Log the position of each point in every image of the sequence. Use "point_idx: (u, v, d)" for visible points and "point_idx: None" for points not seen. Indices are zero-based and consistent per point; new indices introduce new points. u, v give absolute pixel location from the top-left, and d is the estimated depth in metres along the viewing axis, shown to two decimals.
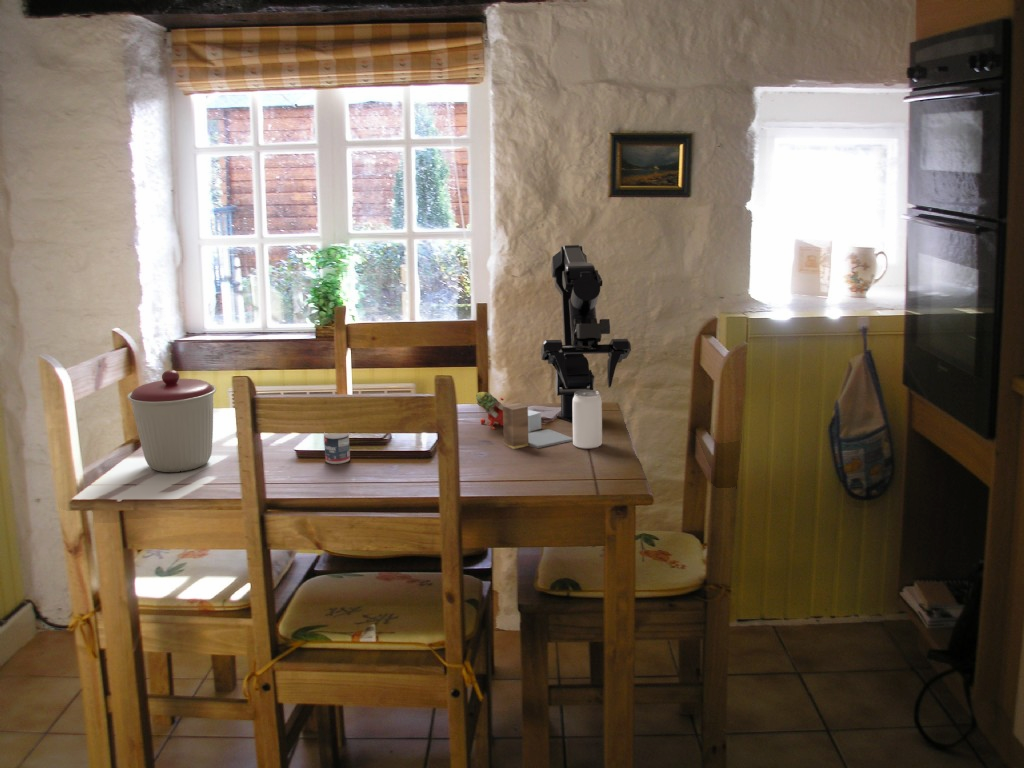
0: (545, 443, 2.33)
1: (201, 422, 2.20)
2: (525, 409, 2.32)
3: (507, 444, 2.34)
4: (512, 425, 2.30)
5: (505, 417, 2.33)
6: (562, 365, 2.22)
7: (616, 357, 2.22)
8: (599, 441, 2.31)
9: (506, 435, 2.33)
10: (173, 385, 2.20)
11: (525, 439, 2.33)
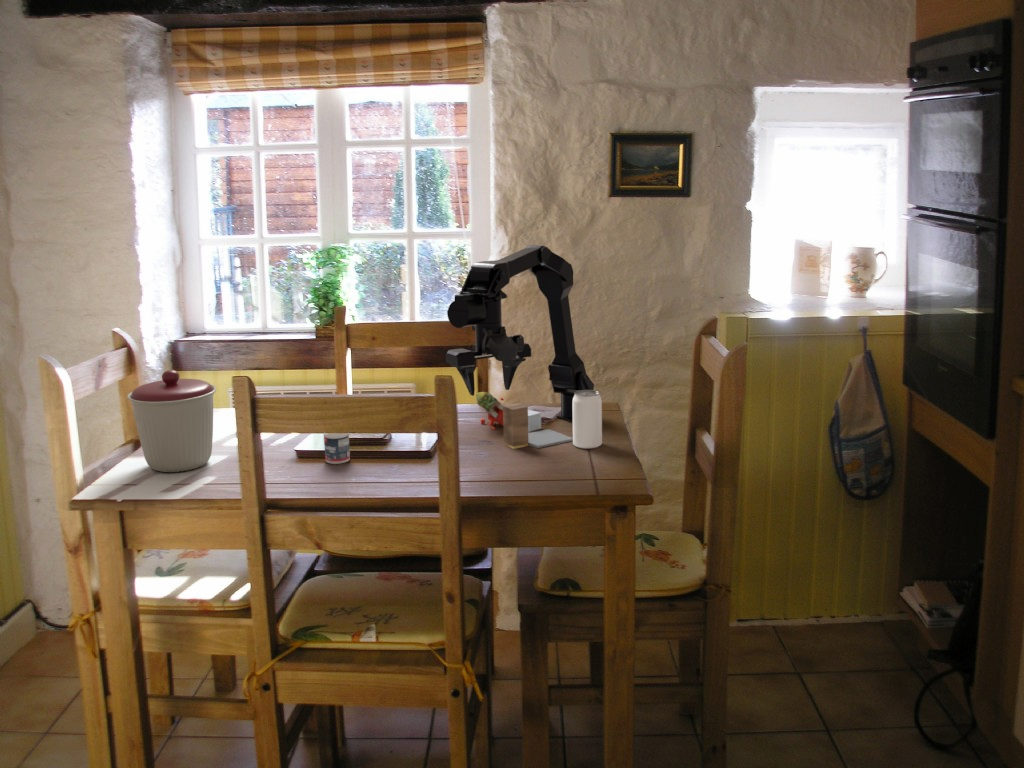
0: (545, 443, 2.33)
1: (201, 422, 2.20)
2: (525, 409, 2.32)
3: (507, 444, 2.34)
4: (512, 425, 2.30)
5: (505, 417, 2.33)
6: (471, 375, 2.23)
7: (517, 364, 2.28)
8: (599, 441, 2.31)
9: (506, 435, 2.33)
10: (173, 385, 2.20)
11: (525, 439, 2.33)
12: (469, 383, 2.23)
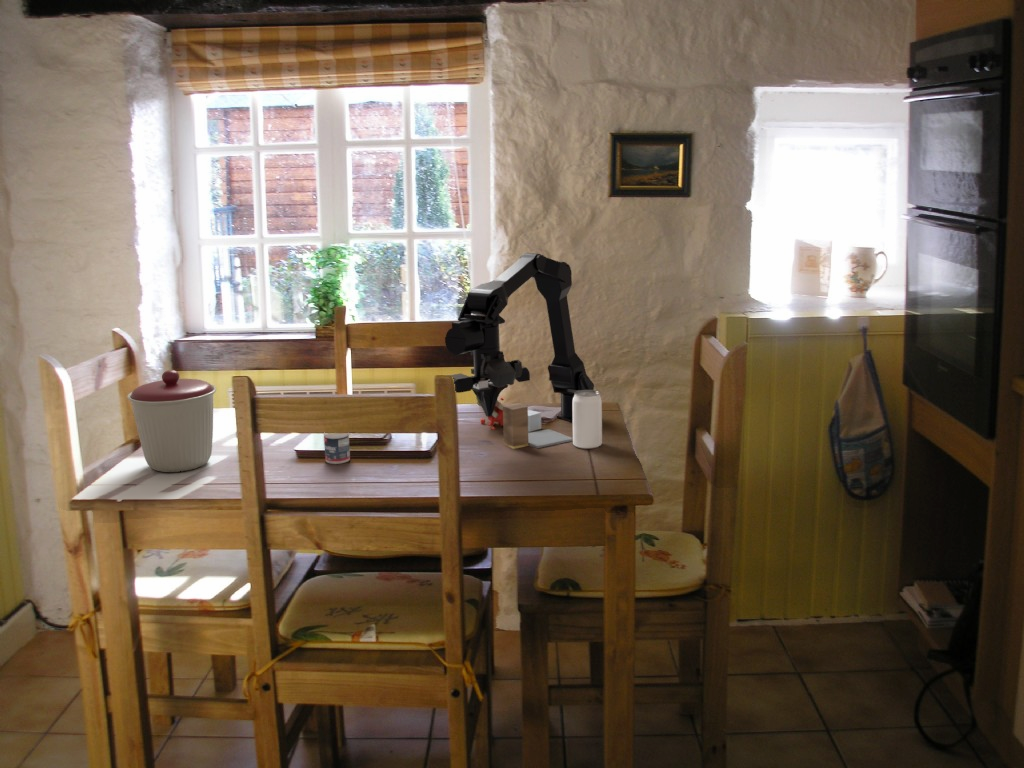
0: (545, 443, 2.33)
1: (201, 422, 2.20)
2: (525, 409, 2.32)
3: (507, 444, 2.34)
4: (512, 425, 2.31)
5: (505, 417, 2.33)
6: (487, 397, 2.26)
7: (499, 390, 2.27)
8: (599, 441, 2.31)
9: (506, 435, 2.33)
10: (173, 385, 2.20)
11: (525, 439, 2.33)
12: (485, 405, 2.27)
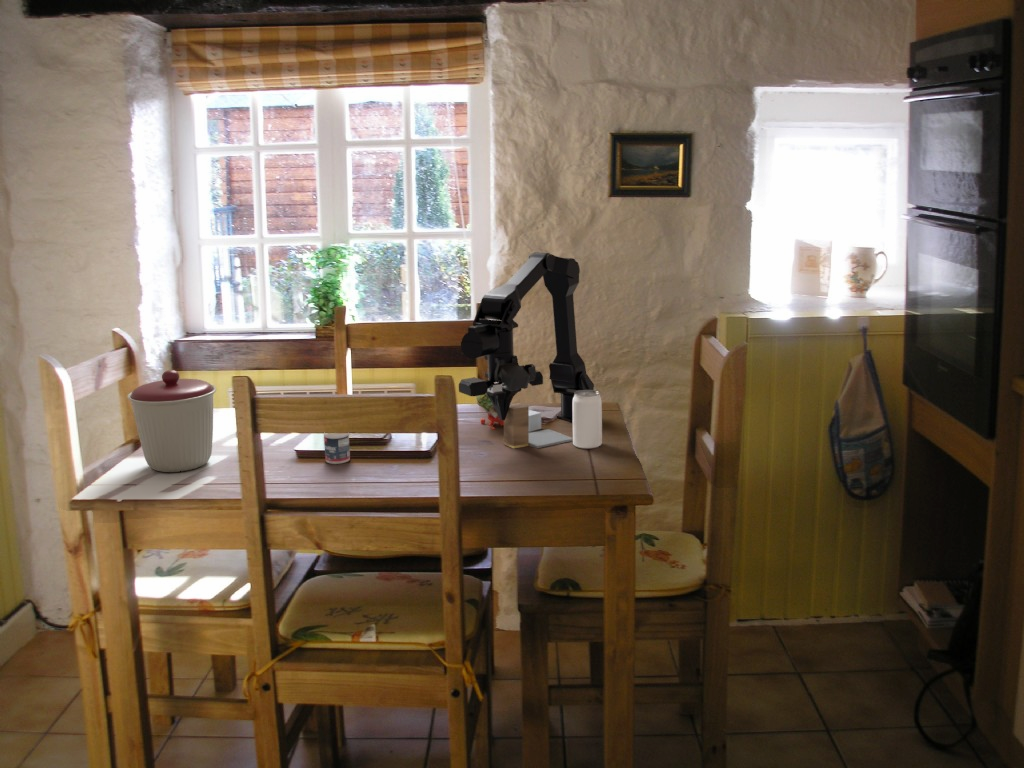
0: (545, 443, 2.33)
1: (201, 422, 2.20)
2: (526, 409, 2.32)
3: (507, 443, 2.34)
4: (513, 424, 2.31)
5: (506, 416, 2.33)
6: (501, 401, 2.29)
7: (513, 394, 2.29)
8: (599, 441, 2.31)
9: (506, 435, 2.33)
10: (173, 385, 2.20)
11: (526, 439, 2.33)
12: (499, 408, 2.29)
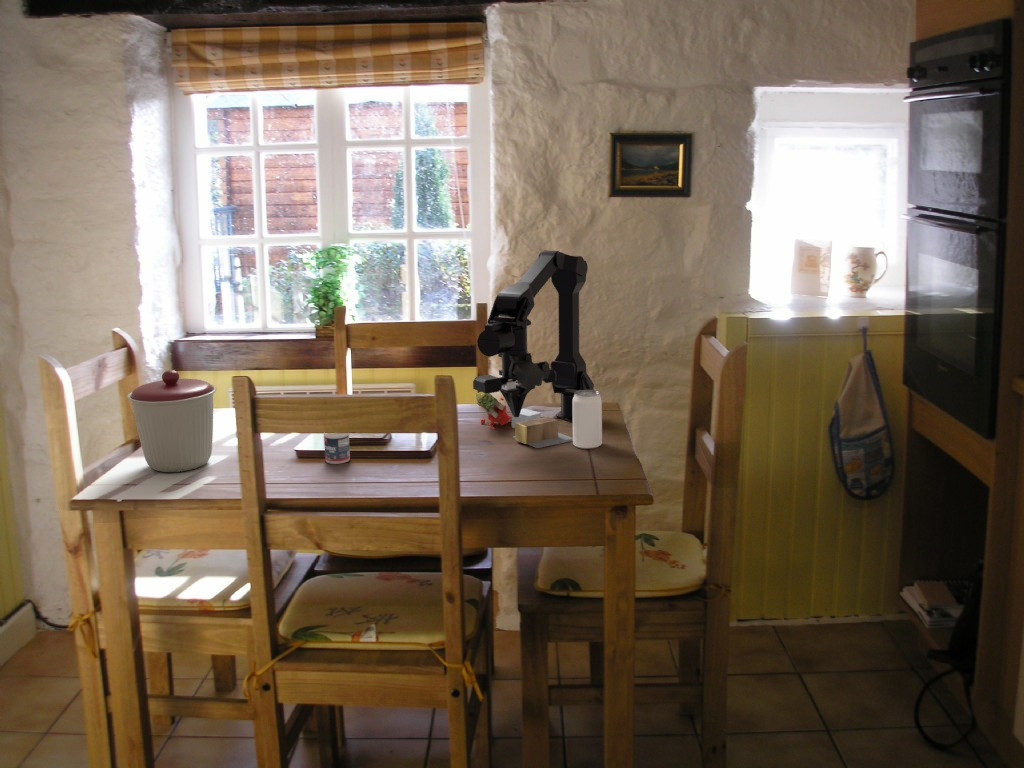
0: (545, 443, 2.33)
1: (201, 422, 2.20)
2: (555, 435, 2.37)
3: (520, 424, 2.35)
4: (544, 422, 2.35)
5: (541, 419, 2.38)
6: (514, 398, 2.30)
7: (527, 391, 2.31)
8: (599, 441, 2.31)
9: (527, 422, 2.36)
10: (173, 385, 2.20)
11: (530, 440, 2.34)
12: (512, 405, 2.31)
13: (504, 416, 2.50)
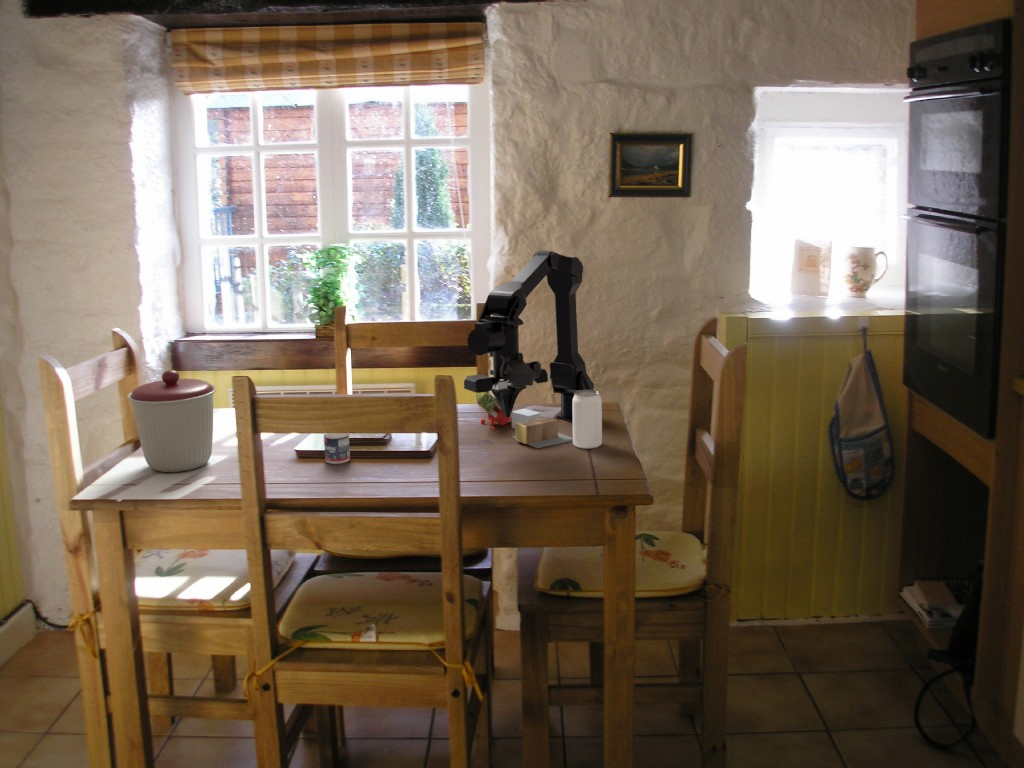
0: (545, 443, 2.33)
1: (201, 422, 2.20)
2: (555, 435, 2.37)
3: (520, 424, 2.35)
4: (544, 422, 2.35)
5: (541, 419, 2.38)
6: (506, 398, 2.29)
7: (518, 391, 2.29)
8: (599, 441, 2.31)
9: (527, 422, 2.36)
10: (173, 385, 2.20)
11: (530, 440, 2.34)
12: (503, 406, 2.30)
13: None
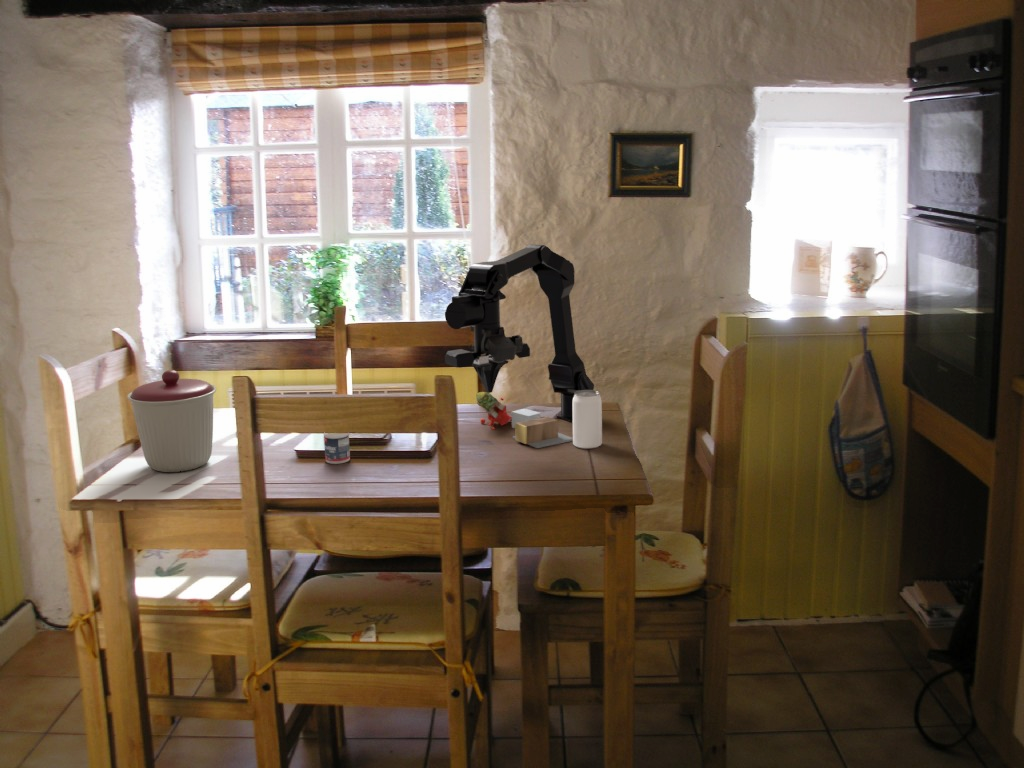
0: (545, 443, 2.33)
1: (201, 422, 2.20)
2: (555, 435, 2.37)
3: (520, 424, 2.35)
4: (544, 422, 2.35)
5: (541, 419, 2.38)
6: (487, 373, 2.27)
7: (500, 366, 2.27)
8: (599, 441, 2.31)
9: (527, 422, 2.36)
10: (173, 385, 2.20)
11: (530, 440, 2.34)
12: (485, 381, 2.27)
13: (504, 416, 2.50)
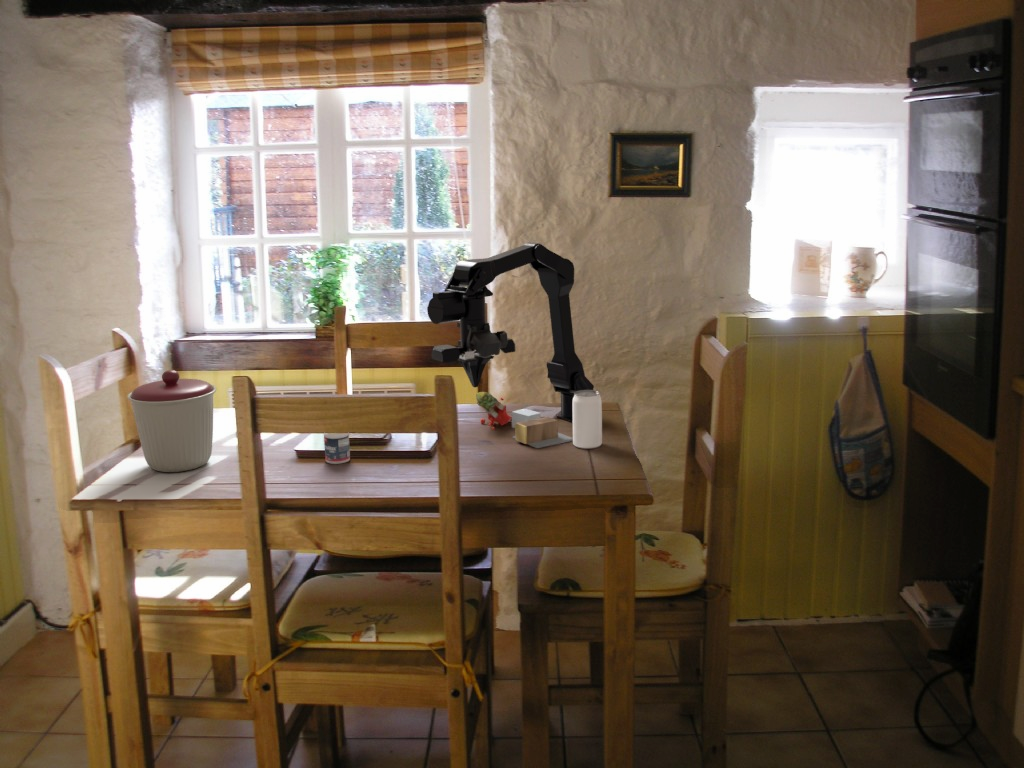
0: (545, 443, 2.33)
1: (201, 422, 2.20)
2: (555, 435, 2.37)
3: (520, 424, 2.35)
4: (544, 422, 2.35)
5: (541, 419, 2.38)
6: (473, 368, 2.31)
7: (486, 361, 2.32)
8: (599, 441, 2.31)
9: (527, 422, 2.36)
10: (173, 385, 2.20)
11: (530, 440, 2.34)
12: (471, 375, 2.32)
13: (504, 416, 2.50)
